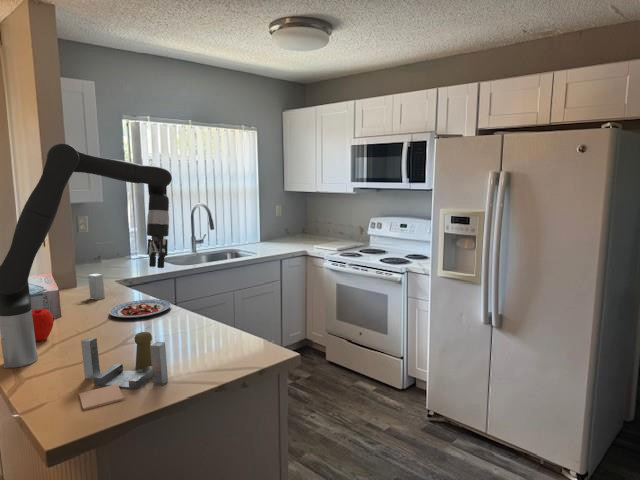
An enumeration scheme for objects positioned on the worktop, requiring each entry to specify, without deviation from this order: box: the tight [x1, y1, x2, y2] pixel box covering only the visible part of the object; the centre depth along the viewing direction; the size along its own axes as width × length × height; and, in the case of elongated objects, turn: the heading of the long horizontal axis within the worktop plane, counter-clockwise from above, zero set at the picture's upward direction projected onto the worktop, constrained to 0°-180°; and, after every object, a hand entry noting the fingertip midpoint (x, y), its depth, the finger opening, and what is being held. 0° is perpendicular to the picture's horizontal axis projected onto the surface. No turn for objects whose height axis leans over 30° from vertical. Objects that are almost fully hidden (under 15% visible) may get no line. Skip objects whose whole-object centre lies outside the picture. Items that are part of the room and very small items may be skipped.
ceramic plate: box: [108, 299, 172, 319], centre depth 206 cm, size 26×26×3 cm
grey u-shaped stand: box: [80, 336, 169, 390], centre depth 138 cm, size 10×26×12 cm, turn 78°
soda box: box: [28, 272, 62, 319], centre depth 213 cm, size 41×14×13 cm, turn 35°
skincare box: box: [87, 273, 105, 301], centre depth 230 cm, size 6×4×12 cm
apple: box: [32, 309, 54, 342], centre depth 173 cm, size 10×10×12 cm
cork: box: [133, 331, 153, 371], centre depth 147 cm, size 6×6×11 cm
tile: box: [78, 384, 125, 411], centre depth 128 cm, size 10×10×1 cm
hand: (156, 267), depth 169 cm, fingers open, 8 cm apart
